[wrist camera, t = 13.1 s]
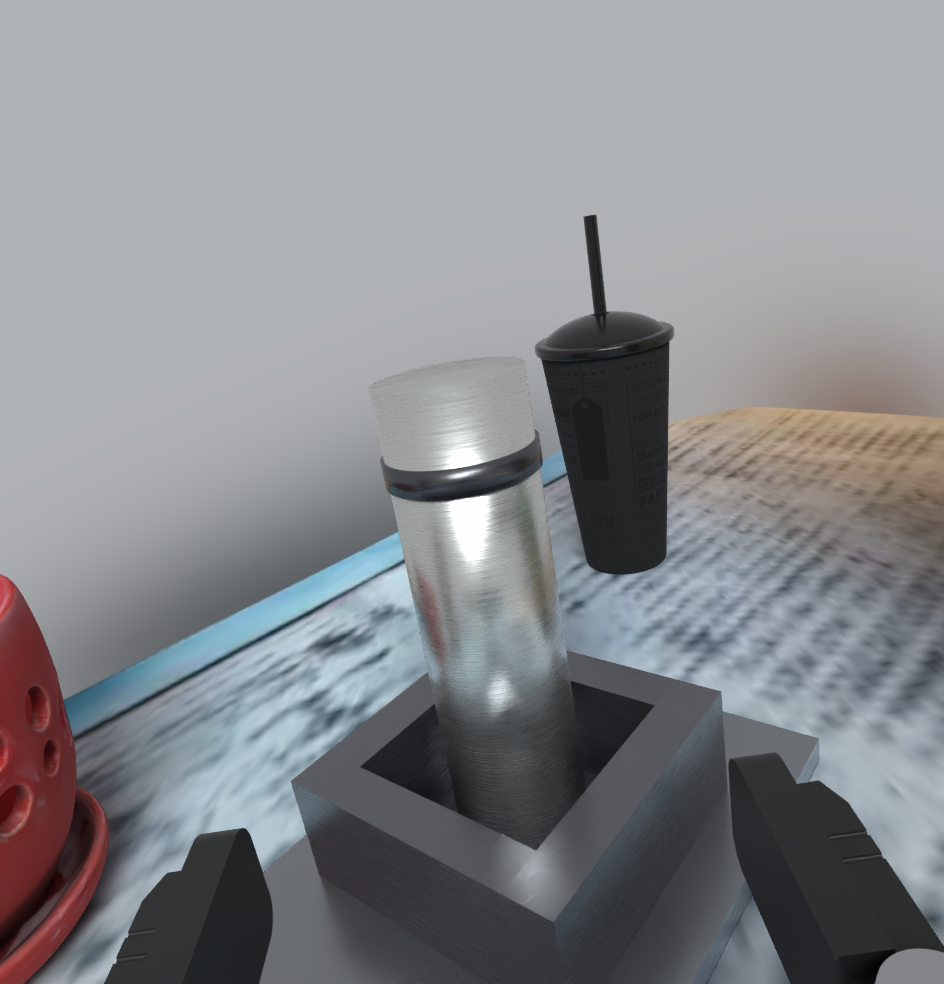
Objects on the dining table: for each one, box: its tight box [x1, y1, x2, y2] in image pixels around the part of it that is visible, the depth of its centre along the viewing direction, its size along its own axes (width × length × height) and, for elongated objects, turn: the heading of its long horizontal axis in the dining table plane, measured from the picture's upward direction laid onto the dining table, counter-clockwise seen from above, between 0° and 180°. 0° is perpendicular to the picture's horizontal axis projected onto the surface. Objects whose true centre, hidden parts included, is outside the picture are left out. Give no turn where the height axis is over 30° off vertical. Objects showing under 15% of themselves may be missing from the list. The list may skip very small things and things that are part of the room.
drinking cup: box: [535, 215, 674, 574], centre depth 44 cm, size 8×8×20 cm
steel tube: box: [369, 357, 586, 850], centre depth 24 cm, size 5×5×16 cm
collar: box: [259, 651, 819, 984], centre depth 26 cm, size 18×14×5 cm
